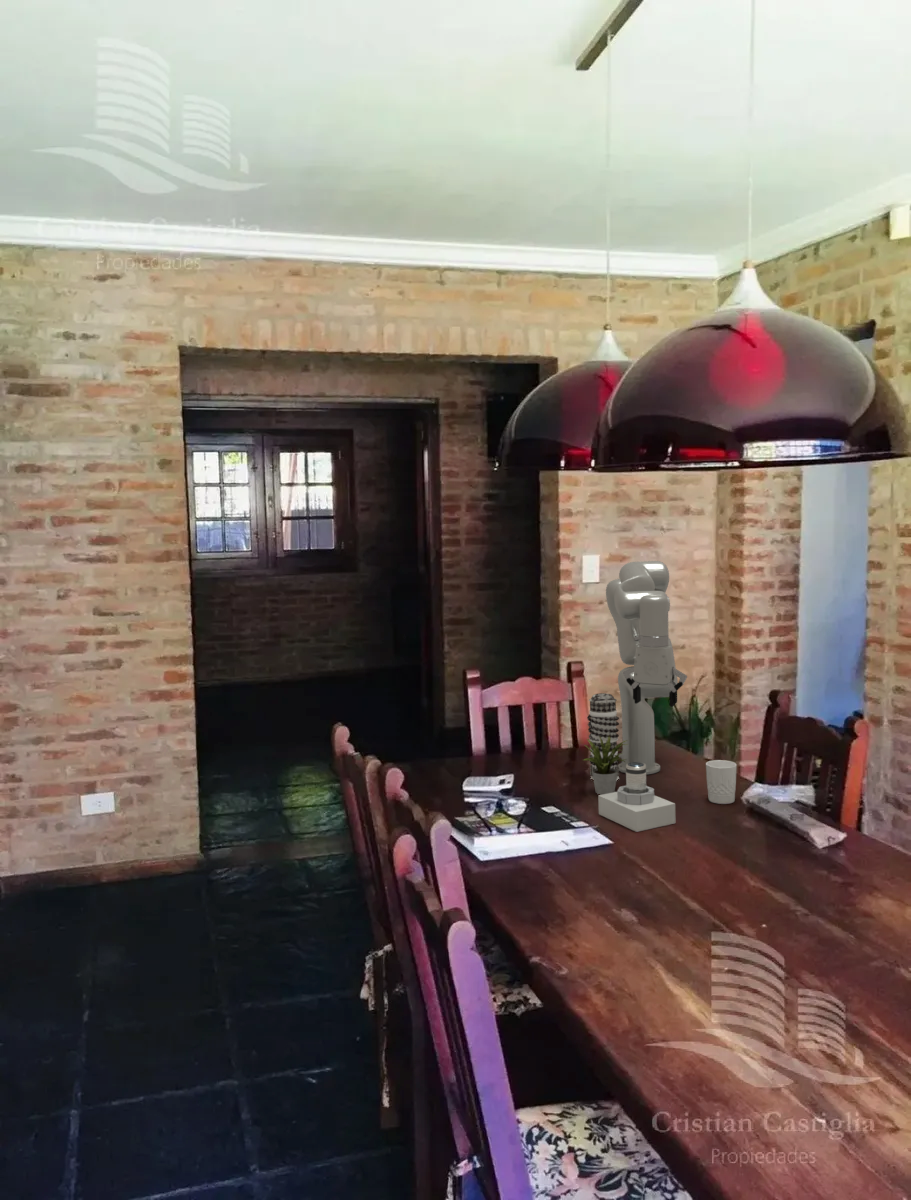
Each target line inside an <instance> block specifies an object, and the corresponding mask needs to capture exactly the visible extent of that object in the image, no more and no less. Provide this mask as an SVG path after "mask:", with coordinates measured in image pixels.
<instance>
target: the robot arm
mask: <svg viewBox="0 0 911 1200" xmlns="http://www.w3.org/2000/svg"><path fill="white" fill-rule="evenodd" d="M669 583H670V571H669V569H668V567H667V565H666V564H665V563H664V562H663V561H661V560H651V561H650V560H648V561H647V560H646V561H645V560H644V561H631V562H628V563H625V564H623V565H622V567H621V568H620V570H619V573H618V578H617V579H616V578H615V579H613V580H610V581H609V582H608V583H607V585H606V589H605V598H606V599H605V600H606V603H607V607H608V610H609V612H610V615H611V617H612V619H613V621H614V624H615V627H616V634H617V636H616V637H617V642H618V651H619V656H620V659H621V661H622V663H623V664H625V665H628V666H627V667H624V668H622V669H621V670H620V671H619V673H618V674H617V683H618V684H617V685H618V689H619V690H618V691H619V695H620V702H621V703H620V705H621V729H622V730H621V731H622V734H621V735H622V742H623V741H626V740H628V741H626V742H624V743H622V744H629V745H622V750H621V753H622V754H620V753H618V754H620V755H619V757H620V758H619V759H621V760H623V759H626V760H624V761H625V762H624V761H621V762H619V763H618V764H617V765H618V766H619V770H618V771H619V772H621V773H623V774H626V764H627V763H630V762H641V763H644V764H646V776H648V775H653V774H657V773H658V772H660V771H661V765H660V764H659V763H657V762H656V755H655V754H656V752H655V751H656V749H655V748H656V744H655V743H656V742H655V741H656V740H655V713H654V710H653V708H652V706H651V705H650V704H649V703H648V702H647V701H646V700H645V699H651V698H669V699H668V700H669V701H668V702H669V703H668V704H669V707H670V708H673V707H674V706H675V705H676V704H677V703H678V690H679V689H681V687H683V685H684V684H685V682H686V680H687V678H688V675H687V674H685V673H684V672H682V671H680V670H678V669H677V667H676V662H675V653H674V648H673V644H672V643H673V642H672V641H671V638H670V634H669V632H670V631H669V611H670V610H671V609H670V607H671V600H670V596H668V594H667V589H668V587H669ZM678 678H679V680H678Z"/></svg>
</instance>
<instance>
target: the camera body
mask: <svg viewBox="0 0 911 1200" xmlns="http://www.w3.org/2000/svg"><path fill="white" fill-rule="evenodd" d="M597 795H598V794H597ZM597 797H598V815H599V816H602V817H603V818H606V819H608V820H610V821H613V822H615V823H617V824H619V825H621V826H623V827H625V828H627V829H629V830H631V831H633V832H642V831H647V830H651V829H655V828H656V829H657V828H660V827H665V826H669V825H672V824H676V820H677V819H676V803H675V802H672V801H670V800H667V799H665V798H663V797H660V796H657V795H655V788H653V787H650V786H648V785H646V793H641V794H633V793H627V792H626V785H622V786H619V787H618V789H617V791H615V792H613V793H608V794H603V795H598V796H597Z"/></svg>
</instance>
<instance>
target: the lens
mask: <svg viewBox="0 0 911 1200" xmlns="http://www.w3.org/2000/svg"><path fill="white" fill-rule="evenodd" d="M625 783H626V784H625V786H626V792H627V793H633V794H641V793H646V786H647V775H646V764H644V763H641V762H630V763H627V764H626V773H625Z"/></svg>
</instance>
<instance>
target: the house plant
mask: <svg viewBox="0 0 911 1200" xmlns="http://www.w3.org/2000/svg"><path fill="white" fill-rule="evenodd" d="M599 737H600V736H599ZM586 740H587V742H588V744H590V748H589V746H587V745H585V744H584V746H585V747H586V748H587V749H588V750H589V751H590V753H591V752H592V754H593V755H594V758H592V757H591V758H590V757H589V758H583V761H589V762H590V761H592V762H593V763H594V764H595V765H596V767H597V768H596V769H593V770H592V775H593V780H594V781H593V783H594V784H593V785H594V790H595V794H596V793H597V794H596V795H598V794H600V795H603V794H608V793H613V792H616V785H617V781H616V779H617V770H616V769H613V768H610V767H611V765H612V764H613V763H614V762H615V761H619V762H618V764H620V762H622V761H624V760H626V759H623V760H622V758H620V757H618V756H619V755H620V754H622V752H621V753H620V754H619V753H618V755H614V754H615V753H616V751H618V752H619V751H620V748H623V745H629V744H623V743H624V742H626V741H628V740H626V741H623V740H622V741H620V742H619V743H617V746H616V747H615V748H613V749H611V750H609V749H610V746H611V743H610V740H611V737H610V736H608V740H607V742H606V744H605V747H604V744H603V741H602V739H601V737H600V740H601V746H602V754H603V760H602V758H601V754H600V752H599V748H598V746H597V748H596V746H595V745H594V744H593V743H592V742H591V741H590V740H589V738H586ZM591 747H592V749H593V751H592V750H591ZM612 750H613V751H612ZM611 751H612V752H611ZM609 752H611V754H610V755H609V756H608V753H609ZM612 754H613V755H612ZM613 756H615V757H613ZM610 758H611V759H610ZM609 760H610V761H609ZM608 762H609V763H608ZM624 762H625V761H624Z"/></svg>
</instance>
